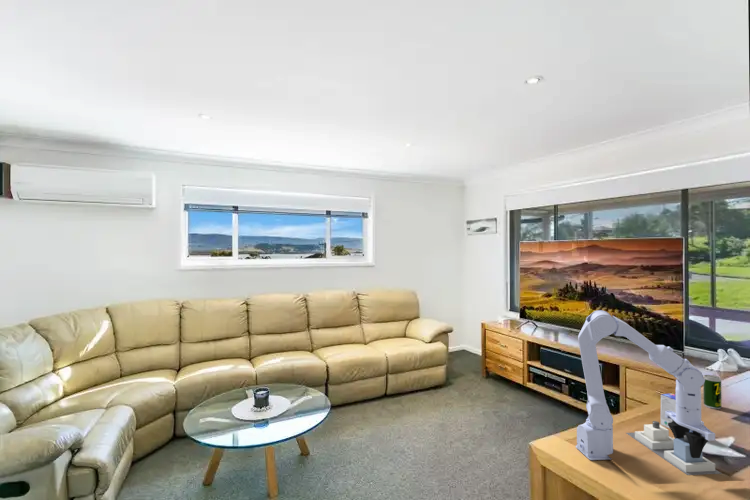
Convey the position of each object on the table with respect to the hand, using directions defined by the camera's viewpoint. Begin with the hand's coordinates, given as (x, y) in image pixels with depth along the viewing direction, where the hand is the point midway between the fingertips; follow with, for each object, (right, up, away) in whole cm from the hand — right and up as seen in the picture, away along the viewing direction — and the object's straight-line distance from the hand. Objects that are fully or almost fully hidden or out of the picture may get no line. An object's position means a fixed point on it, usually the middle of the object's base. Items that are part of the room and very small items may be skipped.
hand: (688, 453), depth 109 cm
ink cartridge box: (+14, -5, +21) cm, 25 cm away
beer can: (+44, -4, +42) cm, 61 cm away
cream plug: (-1, -3, +12) cm, 12 cm away
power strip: (0, -5, +7) cm, 8 cm away
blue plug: (0, -2, 0) cm, 2 cm away
